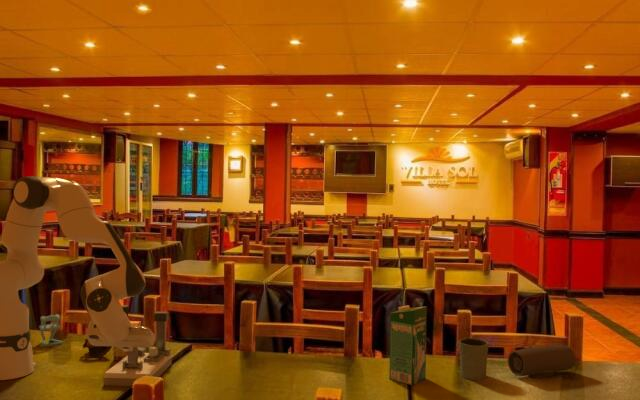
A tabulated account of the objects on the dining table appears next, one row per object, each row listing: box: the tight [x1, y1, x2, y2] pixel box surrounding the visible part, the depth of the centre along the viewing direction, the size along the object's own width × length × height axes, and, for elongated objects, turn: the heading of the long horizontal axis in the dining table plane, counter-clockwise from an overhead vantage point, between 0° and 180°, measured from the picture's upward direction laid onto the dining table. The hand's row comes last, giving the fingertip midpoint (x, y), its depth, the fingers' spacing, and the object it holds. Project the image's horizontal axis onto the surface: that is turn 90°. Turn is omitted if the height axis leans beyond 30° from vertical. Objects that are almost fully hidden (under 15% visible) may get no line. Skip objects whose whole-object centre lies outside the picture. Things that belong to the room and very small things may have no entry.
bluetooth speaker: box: [507, 344, 576, 379], centre depth 190 cm, size 23×9×10 cm, turn 111°
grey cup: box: [458, 337, 489, 381], centre depth 188 cm, size 10×10×12 cm
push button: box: [148, 346, 158, 358], centre depth 188 cm, size 3×3×3 cm
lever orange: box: [126, 320, 142, 369], centre depth 179 cm, size 4×2×15 cm, turn 87°
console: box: [103, 347, 173, 387], centre depth 185 cm, size 15×22×6 cm
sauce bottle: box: [112, 304, 130, 362], centre depth 201 cm, size 7×6×20 cm
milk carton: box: [388, 305, 428, 386], centre depth 184 cm, size 9×9×25 cm
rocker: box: [138, 347, 147, 355], centre depth 194 cm, size 4×3×2 cm
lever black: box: [153, 310, 170, 355], centre depth 193 cm, size 4×2×15 cm, turn 87°
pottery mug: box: [82, 338, 113, 360], centre depth 205 cm, size 12×10×8 cm
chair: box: [38, 313, 63, 348], centre depth 220 cm, size 8×8×12 cm
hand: (128, 349), depth 176 cm, fingers closed
